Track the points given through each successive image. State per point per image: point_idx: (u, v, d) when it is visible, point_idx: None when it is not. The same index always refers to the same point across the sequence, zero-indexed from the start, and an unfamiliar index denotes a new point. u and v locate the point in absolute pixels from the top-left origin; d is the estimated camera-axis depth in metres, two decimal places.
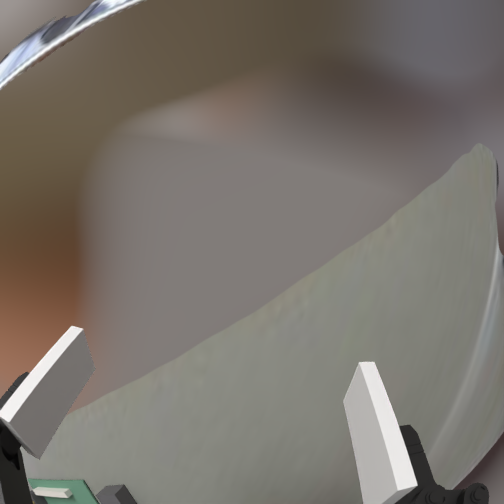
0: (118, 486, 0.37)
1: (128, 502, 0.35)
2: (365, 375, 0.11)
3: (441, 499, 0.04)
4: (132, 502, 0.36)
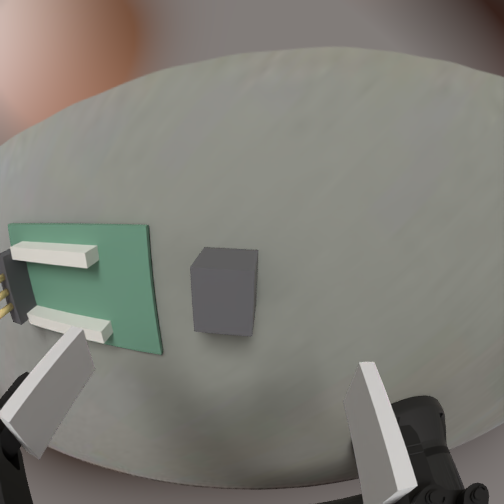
0: (245, 252, 0.26)
1: None
2: (365, 375, 0.11)
3: (441, 499, 0.04)
4: (255, 297, 0.27)
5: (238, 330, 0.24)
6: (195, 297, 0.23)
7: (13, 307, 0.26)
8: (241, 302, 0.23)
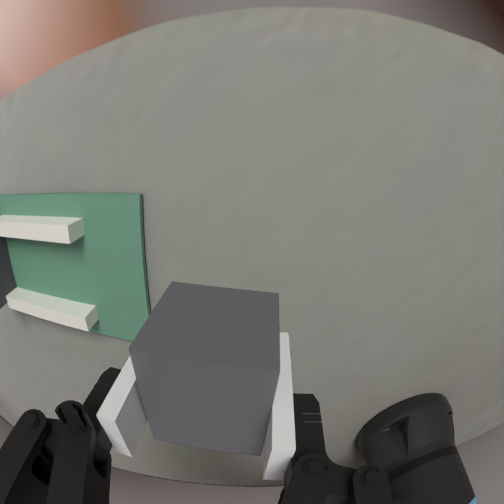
0: (252, 299, 0.12)
1: None
2: None
3: (323, 468, 0.07)
4: None
5: (236, 448, 0.10)
6: (148, 398, 0.10)
7: None
8: (243, 417, 0.09)
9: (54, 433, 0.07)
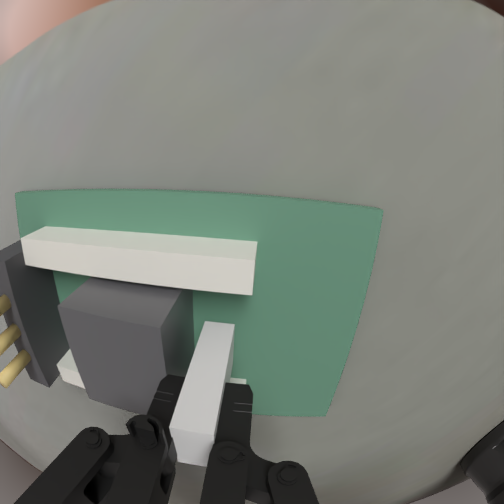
0: None
1: (183, 355, 0.14)
2: (218, 333, 0.13)
3: (239, 455, 0.07)
4: (189, 350, 0.15)
5: None
6: (76, 354, 0.11)
7: (29, 358, 0.13)
8: (145, 375, 0.11)
9: (117, 455, 0.07)
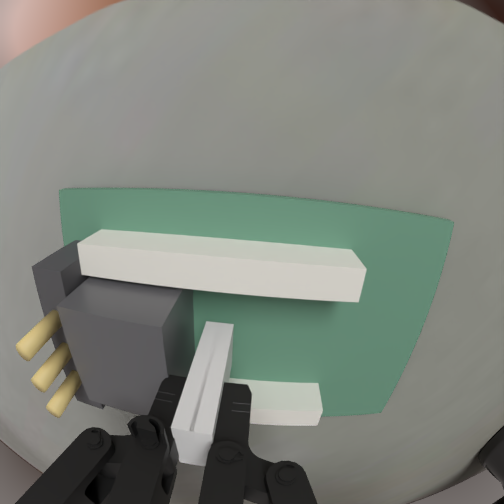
0: None
1: (184, 355, 0.13)
2: (217, 333, 0.13)
3: (237, 455, 0.07)
4: (190, 350, 0.15)
5: None
6: (75, 354, 0.11)
7: None
8: (146, 375, 0.11)
9: (118, 456, 0.07)
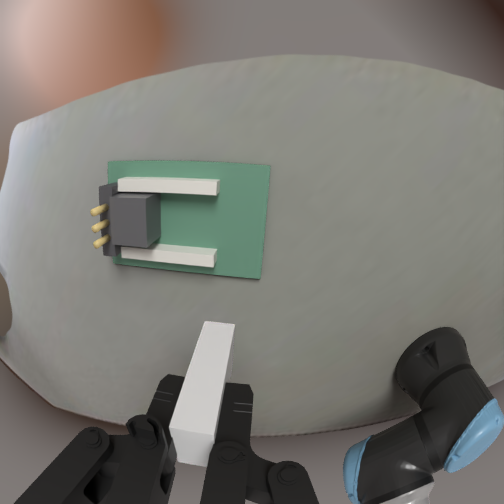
0: (150, 192, 0.35)
1: (154, 222, 0.35)
2: (218, 333, 0.13)
3: (239, 455, 0.07)
4: (157, 225, 0.36)
5: (138, 242, 0.33)
6: (112, 218, 0.32)
7: (109, 239, 0.34)
8: (138, 221, 0.32)
9: (116, 455, 0.07)
